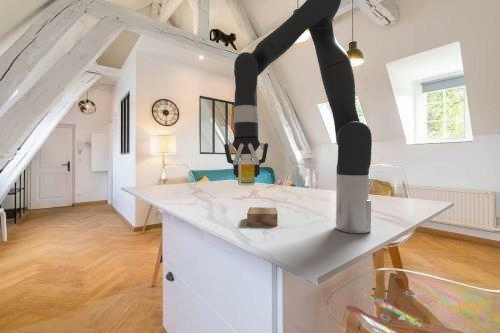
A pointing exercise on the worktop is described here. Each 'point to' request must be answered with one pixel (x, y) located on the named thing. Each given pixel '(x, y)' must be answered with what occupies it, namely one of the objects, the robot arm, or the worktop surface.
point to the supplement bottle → (246, 170)
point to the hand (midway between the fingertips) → (246, 176)
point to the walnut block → (262, 216)
